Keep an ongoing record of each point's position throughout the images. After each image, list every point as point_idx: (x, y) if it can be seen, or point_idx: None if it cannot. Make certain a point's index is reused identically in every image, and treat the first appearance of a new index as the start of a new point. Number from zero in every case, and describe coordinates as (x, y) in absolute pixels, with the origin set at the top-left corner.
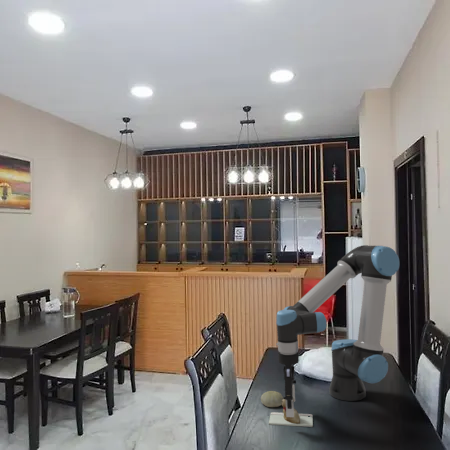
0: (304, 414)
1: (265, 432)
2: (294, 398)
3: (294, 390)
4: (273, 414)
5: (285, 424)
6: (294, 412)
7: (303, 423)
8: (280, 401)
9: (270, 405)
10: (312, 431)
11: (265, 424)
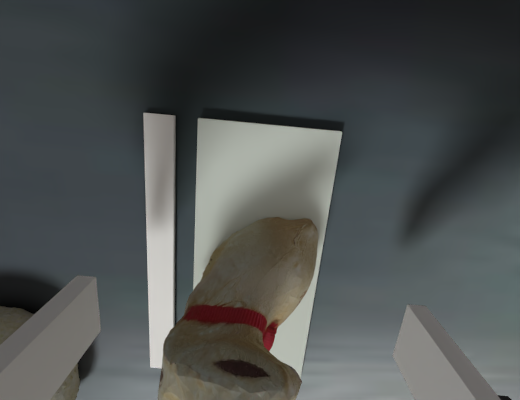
0: (154, 173)
1: (387, 390)
2: (78, 298)
3: (7, 366)
4: None
5: (311, 300)
6: (298, 286)
7: (311, 194)
8: None
9: (77, 379)
10: (404, 139)
11: None
